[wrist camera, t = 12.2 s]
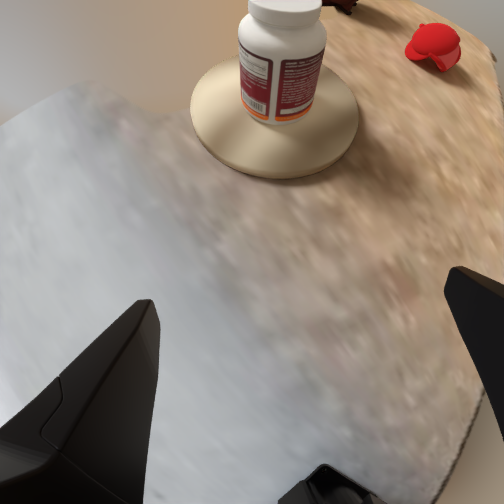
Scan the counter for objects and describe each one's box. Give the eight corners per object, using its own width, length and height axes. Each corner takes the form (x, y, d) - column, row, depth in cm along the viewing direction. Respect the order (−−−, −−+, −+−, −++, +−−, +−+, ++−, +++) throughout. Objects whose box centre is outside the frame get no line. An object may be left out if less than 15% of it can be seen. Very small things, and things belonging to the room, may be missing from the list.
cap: (443, 29, 28) (420, 5, 25) (474, 47, 25) (454, 20, 22) (415, 67, 33) (390, 46, 30) (443, 88, 30) (421, 65, 27)
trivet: (382, 113, 27) (386, 105, 25) (287, 215, 24) (289, 208, 22) (265, 42, 29) (265, 34, 28) (159, 116, 26) (156, 108, 25)
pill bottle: (312, 83, 26) (333, -14, 15) (310, 133, 24) (339, 26, 14) (245, 75, 26) (244, -24, 15) (235, 123, 24) (228, 13, 14)
